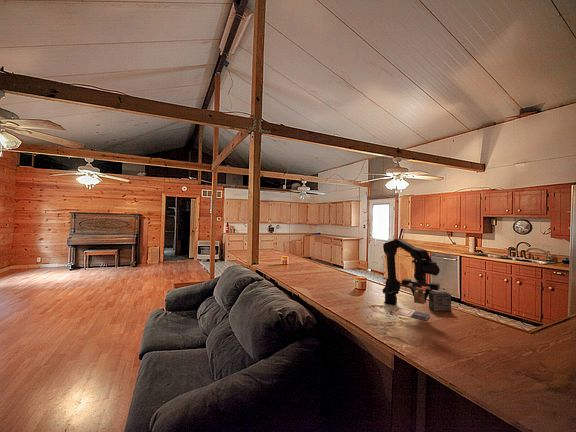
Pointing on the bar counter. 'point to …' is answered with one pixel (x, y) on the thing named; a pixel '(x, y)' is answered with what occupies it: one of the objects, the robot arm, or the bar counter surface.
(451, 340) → the bar counter surface
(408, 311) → the print sheet
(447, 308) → the small box
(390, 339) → the bar counter surface
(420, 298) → the stamp
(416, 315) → the ink pad
